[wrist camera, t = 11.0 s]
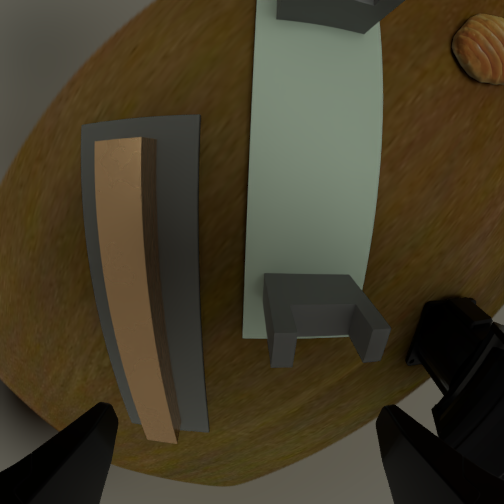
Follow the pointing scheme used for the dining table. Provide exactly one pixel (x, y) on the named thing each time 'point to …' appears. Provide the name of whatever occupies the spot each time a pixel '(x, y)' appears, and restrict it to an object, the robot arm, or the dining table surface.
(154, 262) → the copper rail
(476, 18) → the pastry
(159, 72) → the dining table surface
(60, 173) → the dining table surface
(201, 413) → the rubber mat
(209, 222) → the dining table surface
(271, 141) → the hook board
